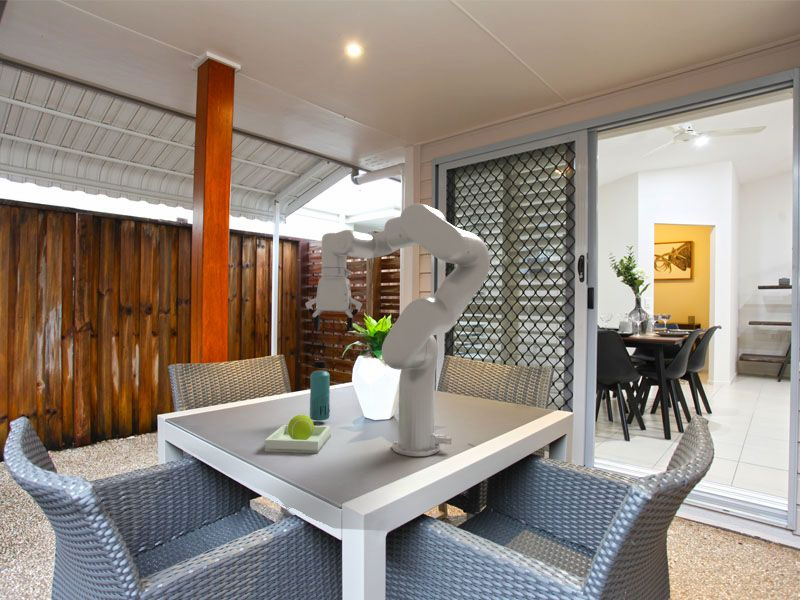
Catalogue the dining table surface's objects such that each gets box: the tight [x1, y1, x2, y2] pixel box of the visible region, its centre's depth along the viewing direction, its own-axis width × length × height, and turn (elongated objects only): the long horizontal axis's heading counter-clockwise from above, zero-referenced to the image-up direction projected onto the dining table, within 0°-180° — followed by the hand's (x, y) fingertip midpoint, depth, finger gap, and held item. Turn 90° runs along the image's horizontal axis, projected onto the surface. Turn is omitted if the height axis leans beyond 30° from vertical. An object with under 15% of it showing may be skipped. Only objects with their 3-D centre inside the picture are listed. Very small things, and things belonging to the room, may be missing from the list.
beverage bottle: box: [309, 360, 331, 422], centre depth 139 cm, size 6×7×20 cm
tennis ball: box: [287, 414, 315, 440], centre depth 117 cm, size 7×7×7 cm
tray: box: [264, 424, 332, 454], centre depth 118 cm, size 14×14×3 cm
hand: (333, 330), depth 130 cm, fingers open, 9 cm apart
